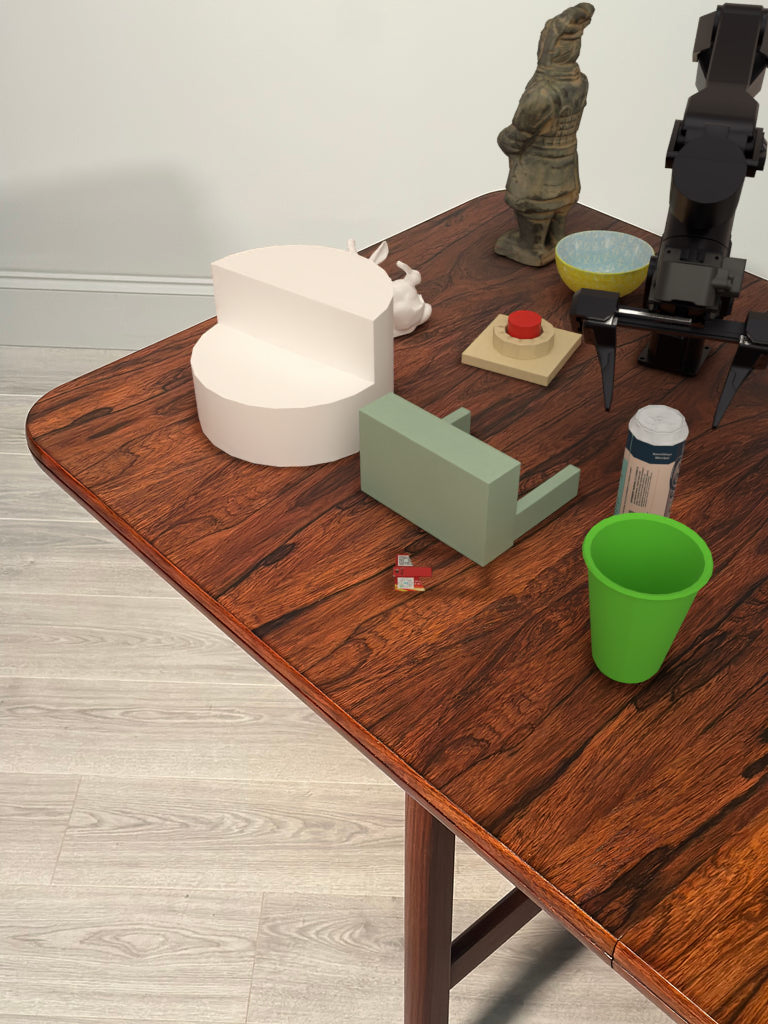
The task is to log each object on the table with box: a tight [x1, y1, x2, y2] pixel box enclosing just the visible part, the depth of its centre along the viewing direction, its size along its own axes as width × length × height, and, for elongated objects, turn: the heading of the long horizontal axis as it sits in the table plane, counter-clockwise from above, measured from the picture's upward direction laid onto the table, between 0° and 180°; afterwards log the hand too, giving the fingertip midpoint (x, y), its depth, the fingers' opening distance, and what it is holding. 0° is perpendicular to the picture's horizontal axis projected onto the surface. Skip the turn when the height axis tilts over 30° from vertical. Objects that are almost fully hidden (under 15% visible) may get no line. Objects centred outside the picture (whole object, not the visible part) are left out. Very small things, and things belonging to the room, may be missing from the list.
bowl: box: [555, 230, 656, 298], centre depth 123 cm, size 11×12×6 cm
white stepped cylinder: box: [190, 244, 395, 468], centre depth 103 cm, size 20×20×13 cm
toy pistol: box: [392, 553, 433, 592], centre depth 88 cm, size 8×1×5 cm
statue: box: [493, 1, 596, 267], centre depth 125 cm, size 11×9×30 cm
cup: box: [581, 513, 714, 684], centre depth 77 cm, size 9×9×11 cm
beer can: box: [613, 404, 690, 518], centre depth 88 cm, size 5×5×12 cm
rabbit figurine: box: [346, 238, 433, 339], centre depth 117 cm, size 12×8×10 cm, turn 103°
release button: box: [507, 309, 543, 339], centre depth 113 cm, size 4×4×2 cm
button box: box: [461, 313, 583, 387], centre depth 114 cm, size 10×10×3 cm
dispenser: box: [359, 392, 582, 568], centre depth 93 cm, size 14×15×9 cm
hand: (659, 420), depth 91 cm, fingers open, 9 cm apart
